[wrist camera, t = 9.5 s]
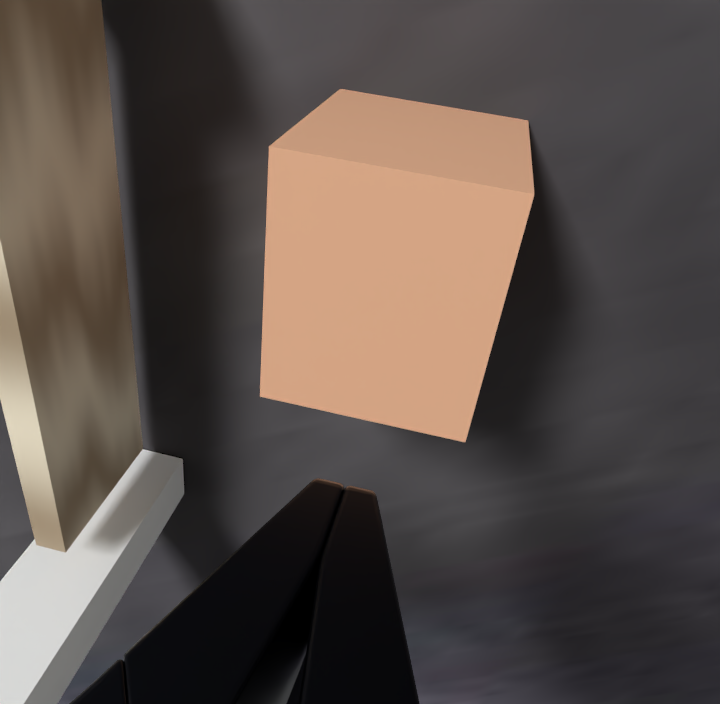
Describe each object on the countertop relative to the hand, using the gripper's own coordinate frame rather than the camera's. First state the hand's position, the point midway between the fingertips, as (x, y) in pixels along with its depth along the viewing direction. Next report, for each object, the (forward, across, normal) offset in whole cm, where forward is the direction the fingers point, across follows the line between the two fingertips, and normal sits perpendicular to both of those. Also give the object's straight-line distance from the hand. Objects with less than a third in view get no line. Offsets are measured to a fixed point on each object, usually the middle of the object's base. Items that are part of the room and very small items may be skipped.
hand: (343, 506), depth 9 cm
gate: (+10, +9, +3) cm, 14 cm away
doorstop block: (+12, 0, 0) cm, 12 cm away
